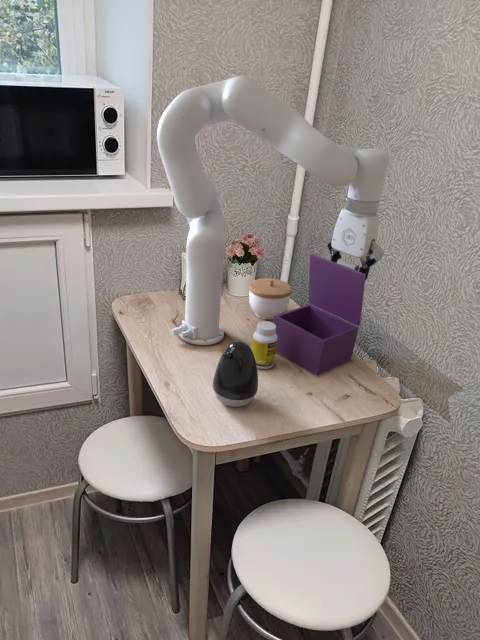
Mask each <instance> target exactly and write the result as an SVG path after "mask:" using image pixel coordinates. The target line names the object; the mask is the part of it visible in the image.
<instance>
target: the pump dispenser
mask: <svg viewBox="0 0 480 640" xmlns="http://www.w3.org/2000/svg"><path fill="white" fill-rule="evenodd" d="M251 348H252V347H251V346H250V345H249V344H248V343H247V342H245V341H243V340H235V341H232V342H231V343H229V344H228V345H227V346H226V348H225V349H224V350H223V352H222V353H221V356H220V358H219V360H218V363H217V365H216V369H215V371H214V376H213V380H212V389H213V390H214V393H215V396H216V398H217V399H218V401H220V403H222V404H223V405H225V406H228V407H232V408H240V407H244V406H246V405H248V404H249V403H250V402H251V401H253V399H254V398H255V396H256V394H257V393H258V391H259V390H258V389H259V373H258V368H257V365H256V361H255V357H254V354H253V352H252V350H251Z"/></svg>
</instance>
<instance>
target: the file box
mask: <svg viewBox="0 0 480 640" xmlns="http://www.w3.org/2000/svg"><path fill="white" fill-rule="evenodd" d="M272 323H274V324H275V325H276V332H275V333H276V334H277V336H278V340H277V346H276V353H275V354H277V355H279V356H282V357H283V358H285V359H286V360H288V361H290V362H291V363H294V364H295V365H296V366H299V367H301V368H302V369H304V370H306V371H307V372H309V373H311V374H313V375H315V376H316V377H318V376H320V375H323V374H325V373H327V372H329V371H331V370H334V369H336V368H338V367H340V366H342V365H344V364H347V363H348V362H350V361H352V359H353V354H354V350H355V349H354V348H355V345H356V341H357V336H358V332H359V327H360V326H357V325H355V324H353V323H351V322H348V321H346V320H344V319H342V318H340V317H338V316H336V315H333V314H331V313H329V312H327V311H325V310H323V309H320V308H318V307H316V306H314V305H312V304H310V303H308V304H305V305H302V306H300V307H297V308H294V309H292V310H288V311H284V312H283V313H282V314H279V315H277V316H274V319H273V322H272Z"/></svg>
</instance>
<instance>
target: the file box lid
mask: <svg viewBox="0 0 480 640" xmlns="http://www.w3.org/2000/svg"><path fill="white" fill-rule="evenodd" d="M359 268H360V265H359V264H356V263H354V262H351V261H348V260H346V259H343V258H341V259H339V260H338V261H337V263H335V262H332V261H331V259H330V260H329V259H327V258H324V257H321V256H319V255H316V254H314V253H310V254H309V271H308V272H309V273H308V275H309V276H308V302H307V303H308V304H310V305H312V306H314V307H316V308H319V309H321V310H323V311H325V312H327V313H329V314H331V315H334V316H336V317H338V318H340V319H342V320H344V321H347V322H349V323H351V324H353V325H355V326H357V327H360V325H361V322H362V321H361V320H362V314H363V313H362V312H363V303H364V294H365V286H366V281H365V277H366V274H364V273H361V272H359Z"/></svg>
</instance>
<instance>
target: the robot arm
mask: <svg viewBox="0 0 480 640" xmlns="http://www.w3.org/2000/svg"><path fill="white" fill-rule="evenodd" d="M231 120H232V121H234V122H235V123H237V124H238V125H239V126H241V127H242V128H244V129H245V130H247V131H249V132H250V133H252V134H253V135H255V136H257V137H258V138H259V139H261V140H262V141H264V142H265V143H267V144H268V145H269V146H271V147H273V149H275V150H276V151H277V152H279V153H281V154H282V155H283V156H285V157H286V158H289V159H290V160H291V161H292V162H294V163H295V164H297V165H298V166H300V168H302V169H304V170H305V171H306V172H307V173H310V175H312V176H314V177H315V178H317V179H318V180H320V181H321V182H323V183H325V184H326V185H328V186H330V187H332V188H336V189H337V188H338V189H339V188H344V187H345V188H346V187H347V186H349V187H348V192H347V196H346V195H345V196H344V197H343V199H342V201H343V203H345V205H344V207H343V208H341V210H340V212H339V214H338V217H337V220H336V223H335V226H334V230H333V232H332V233H330V234H327V235H326V236H325V241H326V244H327V245H326V246H327V249H328V251H329V257H330V261H332V262H335V263H337V261H338V260H339V259H342V254H345V255H348V256H351V257H354V258H356V259H359V260H360V263H361V266H359V270H358V271H359V272H361V273H364V274H366V277H365V282H366V281H367V280H368V277H369V273H370V269H371V267H372V266H374V265H375V264H378V262H379V261H380V260H381V259H383V257H384V256H385V253H384V252H383V251H382V250H381V248H380V246H379V245H378V244H377V241H378V235H379V226H380V214H379V213H378V212H379V206H380V202H381V198H382V194H383V190H384V186H385V185H384V184H385V181H386V177H387V172H388V169H389V163H390V159H391V158H390V153H389V152H388V151H386V150H384V149H381V148H373V147H370V148H369V147H368V148H356V147H351V146H346V145H342V144H336V143H335V142H334V141H332V140H331V139H329V138H328V137H327V136H326V135H324V134H322V132H320V131H319V130H318V129H316V128H315V127H314V126H312V124H310V122H308V120H307V119H306V118H305V117H304V116H303V115H302V114H301V113H300V112H298V111H297V110H295V109H294V108H293V107H291V106H290V105H288V104H286V103H285V102H284V101H282V100H280V99H279V98H278V97H276V96H275V95H274V94H272V93H270V92H269V91H268V90H266V89H265V88H263V87H262V86H260V85H259V84H258V83H256V81H255V80H253V78H251V77H249V76H247V75H237V76H233V77H230V78H227V79H223V80H220V81H216V82H212V83H207V84H203V85H199V86H195V87H191V88H188V89H185V90H184V91H182V92H180V93H179V94H178V95H177V96H175V98H174V99H172V100H171V102H170V103H169V104H168V105H167V107H166V108H165V110H164V111H163V113H162V115H161V117H160V119H159V122H158V126H157V131H156V134H157V135H156V140H157V141H156V142H157V147H158V151H159V156H160V159H161V161H162V164H163V168H164V170H165V174H166V178H167V181H168V184H169V188H170V190H171V194H172V196H173V200H174V204H175V206H176V209H177V210H178V212H179V214H181V215H182V216H184V217H185V218H186V220H187V223H188V227H189V231H188V235H187V239H186V247H185V250H186V252H185V254H186V258H185V259H186V270H185V271H186V274H185V275H186V276H185V278H186V279H185V308H184V311H185V312H184V319H183V320H181V324H180V325H179V326H177V327H174V328H171V329H170V331H169V333H170V335H171V337H175V336H178V335H179V337H180V338H181V339H182V340H183V341H184V342H187V343H188V344H192V345H196V346H210V345H214V344H217V343H219V342H221V341H222V340H223V339H224V337H225V330H224V329H223V328H222V326H220V320H221V319H220V318H221V304H222V292H223V277H224V276H223V275H224V264H225V263H224V262H225V254H226V241H227V224H226V219H225V217H224V213H223V209H222V206H221V203H220V199H219V196H218V193H217V189H216V185H215V183H214V181H213V180H212V178H211V177H210V175H208V174H207V173H206V172H205V171H204V169H203V166H202V163H201V159H200V155H199V152H198V150H197V147H196V136H197V134H198V133H199V132H201V130H202V129H204V128H205V127H206V126H210V125H214V124H218V123H223V122H226V121H231ZM372 255H374V256H373V257H372Z"/></svg>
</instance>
